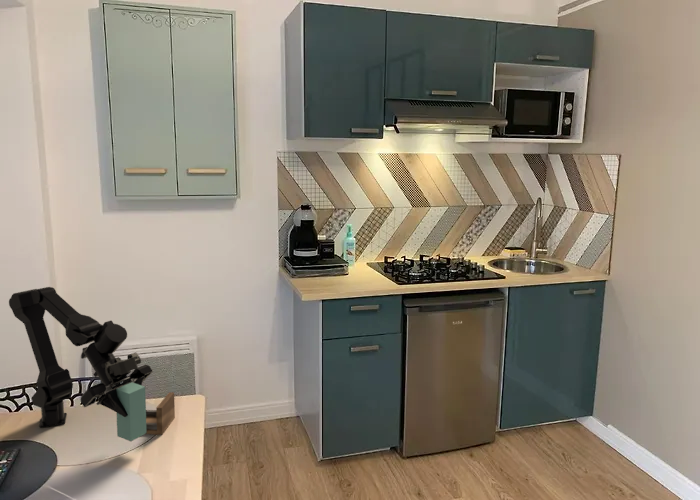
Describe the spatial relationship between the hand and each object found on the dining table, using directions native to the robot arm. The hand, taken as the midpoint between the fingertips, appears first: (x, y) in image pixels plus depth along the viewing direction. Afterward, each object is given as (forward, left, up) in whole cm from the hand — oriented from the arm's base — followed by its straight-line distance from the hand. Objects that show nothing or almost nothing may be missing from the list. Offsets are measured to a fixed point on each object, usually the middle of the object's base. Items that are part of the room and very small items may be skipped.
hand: (135, 411), depth 140 cm
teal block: (-1, -1, -7) cm, 7 cm away
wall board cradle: (-14, +5, -12) cm, 19 cm away
